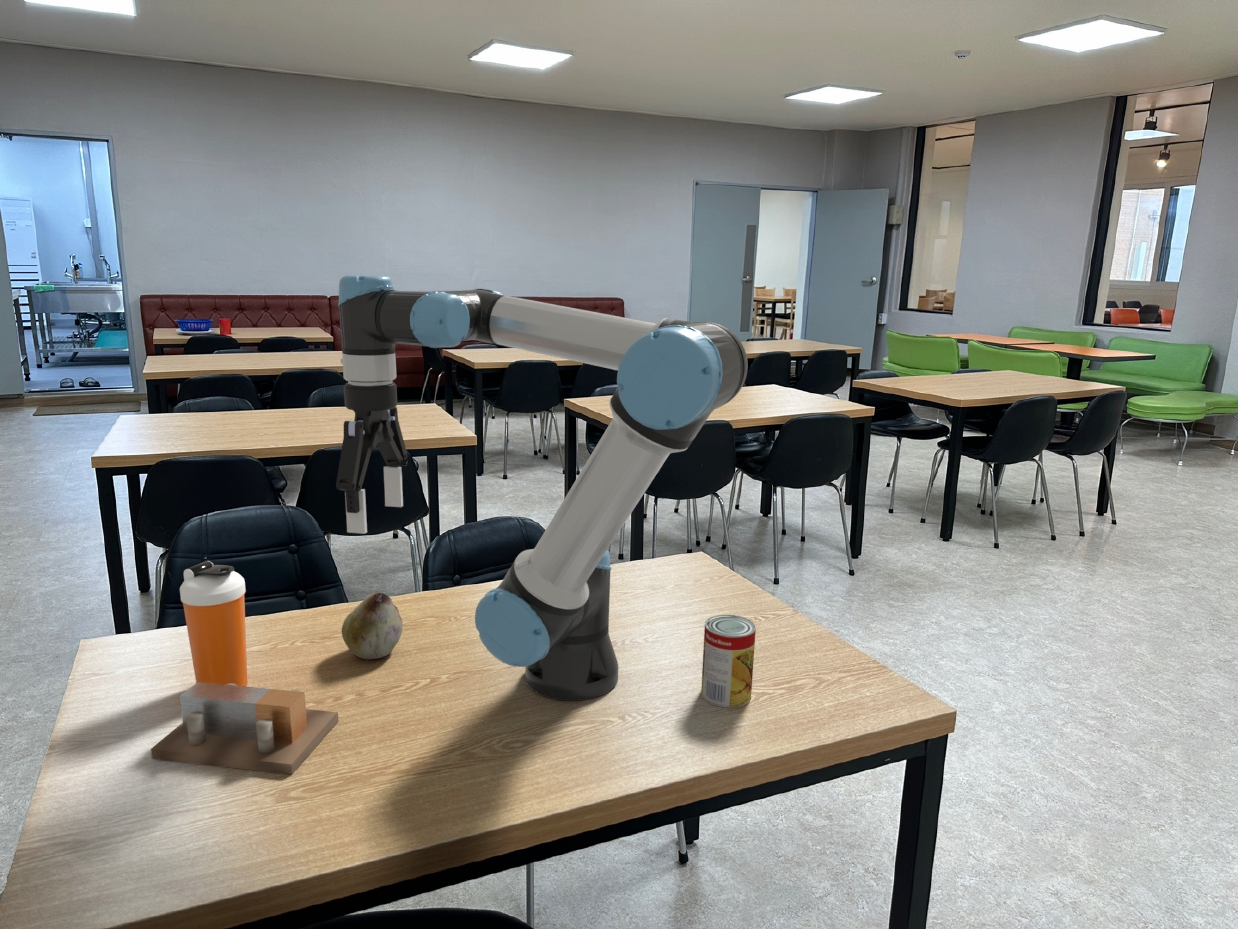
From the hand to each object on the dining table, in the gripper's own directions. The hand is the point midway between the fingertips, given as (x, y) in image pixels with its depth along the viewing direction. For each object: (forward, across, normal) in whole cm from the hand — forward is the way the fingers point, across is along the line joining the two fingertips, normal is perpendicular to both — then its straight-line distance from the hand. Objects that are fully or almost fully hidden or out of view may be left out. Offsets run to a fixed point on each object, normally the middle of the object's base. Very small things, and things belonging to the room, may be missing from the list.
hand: (376, 518), depth 128 cm
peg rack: (+27, +20, -11) cm, 35 cm away
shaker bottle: (+27, +8, -23) cm, 36 cm away
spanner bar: (+25, +21, -11) cm, 34 cm away
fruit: (+27, -7, -5) cm, 28 cm away
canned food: (+27, -4, +55) cm, 61 cm away
